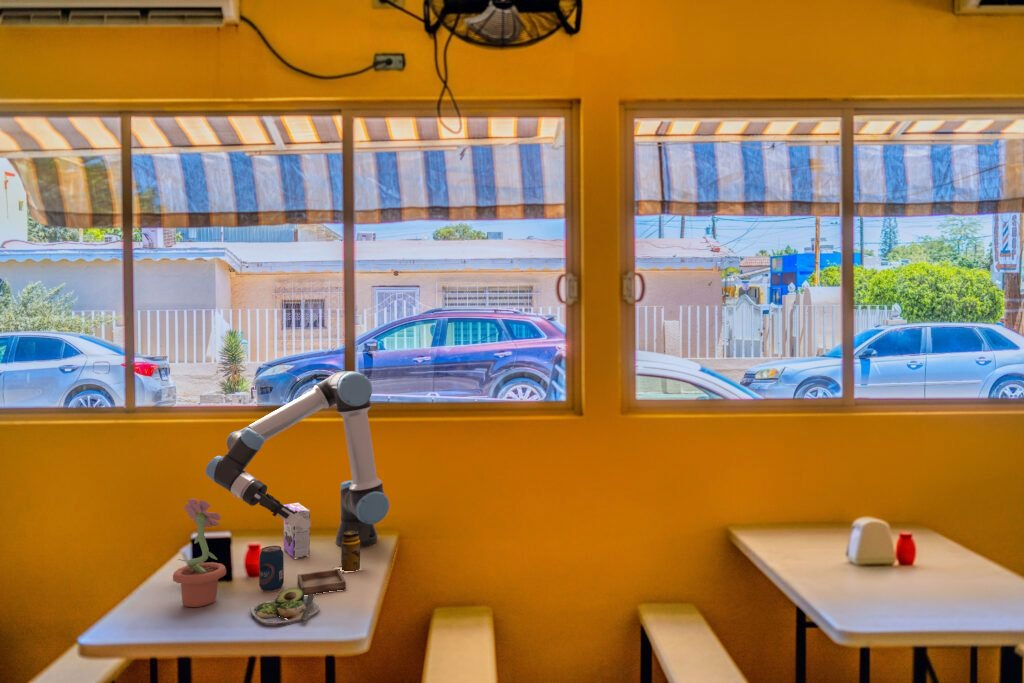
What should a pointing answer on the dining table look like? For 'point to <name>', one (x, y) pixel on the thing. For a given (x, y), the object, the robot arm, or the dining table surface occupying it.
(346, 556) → the condiment
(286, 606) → the avocado toast plate
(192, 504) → the decorative flower
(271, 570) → the soda can
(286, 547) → the candy box
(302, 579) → the walnut tray
